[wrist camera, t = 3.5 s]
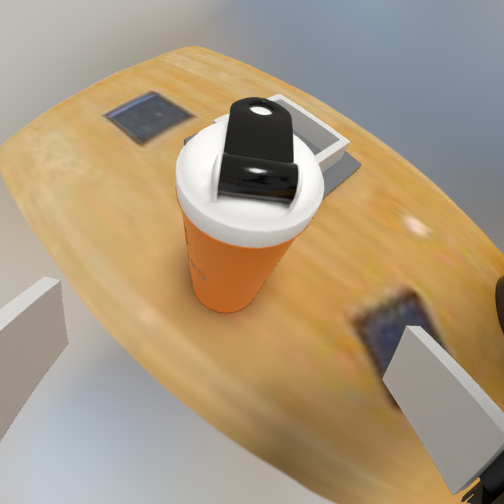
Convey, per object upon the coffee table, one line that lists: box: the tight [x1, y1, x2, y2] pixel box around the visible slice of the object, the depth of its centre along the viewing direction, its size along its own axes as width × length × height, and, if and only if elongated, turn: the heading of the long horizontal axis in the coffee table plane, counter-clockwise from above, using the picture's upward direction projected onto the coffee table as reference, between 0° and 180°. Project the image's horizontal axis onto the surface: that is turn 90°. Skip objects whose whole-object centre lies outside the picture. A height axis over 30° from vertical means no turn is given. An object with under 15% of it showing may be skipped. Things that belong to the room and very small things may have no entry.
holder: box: [184, 94, 362, 200], centre depth 40 cm, size 20×20×5 cm
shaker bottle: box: [176, 97, 324, 313], centre depth 23 cm, size 9×9×20 cm
